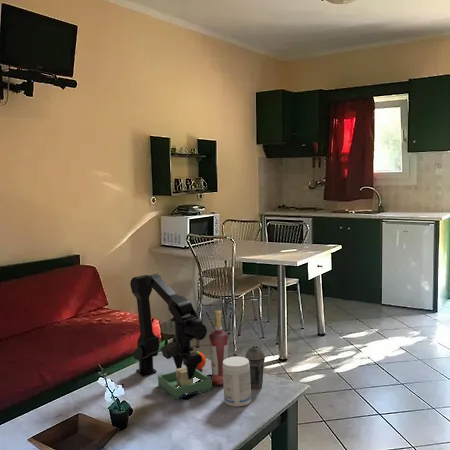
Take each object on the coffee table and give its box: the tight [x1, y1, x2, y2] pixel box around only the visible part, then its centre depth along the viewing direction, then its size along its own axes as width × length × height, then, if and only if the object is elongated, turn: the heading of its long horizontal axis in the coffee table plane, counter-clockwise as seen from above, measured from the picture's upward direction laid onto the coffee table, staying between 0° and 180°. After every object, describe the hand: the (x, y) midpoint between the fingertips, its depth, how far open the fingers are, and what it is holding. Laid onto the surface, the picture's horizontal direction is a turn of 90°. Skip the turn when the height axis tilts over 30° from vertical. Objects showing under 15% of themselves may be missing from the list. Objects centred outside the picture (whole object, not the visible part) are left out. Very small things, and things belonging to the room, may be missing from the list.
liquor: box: [208, 310, 229, 386], centre depth 195 cm, size 7×7×28 cm
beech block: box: [175, 366, 193, 387], centre depth 193 cm, size 4×4×6 cm
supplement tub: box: [222, 356, 252, 408], centre depth 179 cm, size 10×10×15 cm
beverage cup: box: [244, 335, 266, 391], centre depth 190 cm, size 7×7×20 cm
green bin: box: [157, 369, 213, 401], centre depth 193 cm, size 15×15×4 cm
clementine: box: [196, 350, 207, 371], centre depth 211 cm, size 8×7×7 cm
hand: (184, 374), depth 193 cm, fingers open, 9 cm apart
